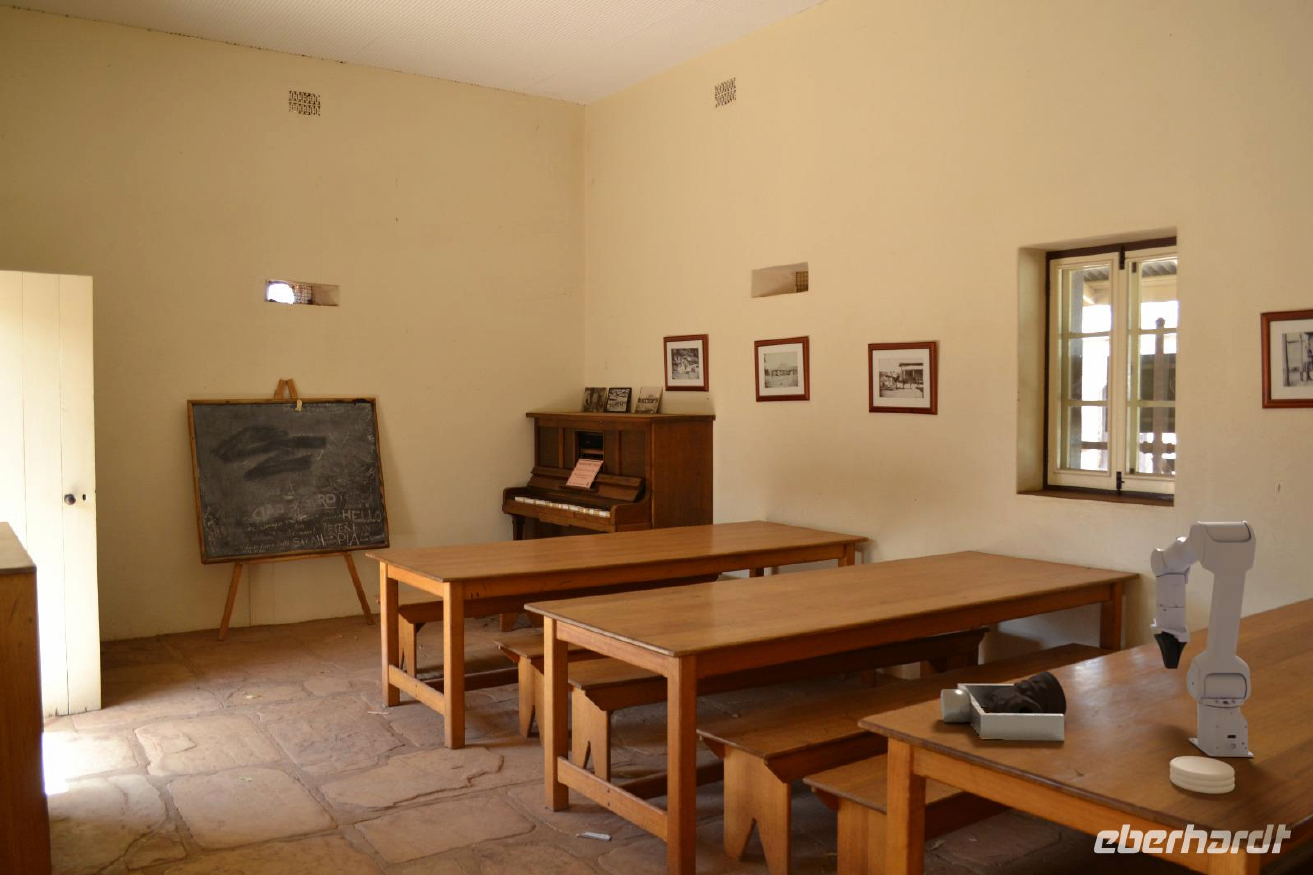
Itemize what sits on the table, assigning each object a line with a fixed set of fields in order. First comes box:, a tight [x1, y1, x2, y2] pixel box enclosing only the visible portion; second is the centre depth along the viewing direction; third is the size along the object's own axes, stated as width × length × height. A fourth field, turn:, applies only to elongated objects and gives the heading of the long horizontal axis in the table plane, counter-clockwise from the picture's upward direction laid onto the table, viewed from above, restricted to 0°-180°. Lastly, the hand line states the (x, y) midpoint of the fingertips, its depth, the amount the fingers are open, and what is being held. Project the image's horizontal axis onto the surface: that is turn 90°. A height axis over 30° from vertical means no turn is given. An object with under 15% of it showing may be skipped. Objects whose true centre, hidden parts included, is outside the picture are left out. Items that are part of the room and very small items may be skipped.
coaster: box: [1169, 755, 1236, 795], centre depth 177 cm, size 10×10×4 cm
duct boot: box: [940, 683, 1065, 742], centre depth 214 cm, size 23×21×7 cm
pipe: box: [985, 670, 1068, 716], centre depth 215 cm, size 10×15×15 cm
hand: (1171, 668), depth 217 cm, fingers closed
